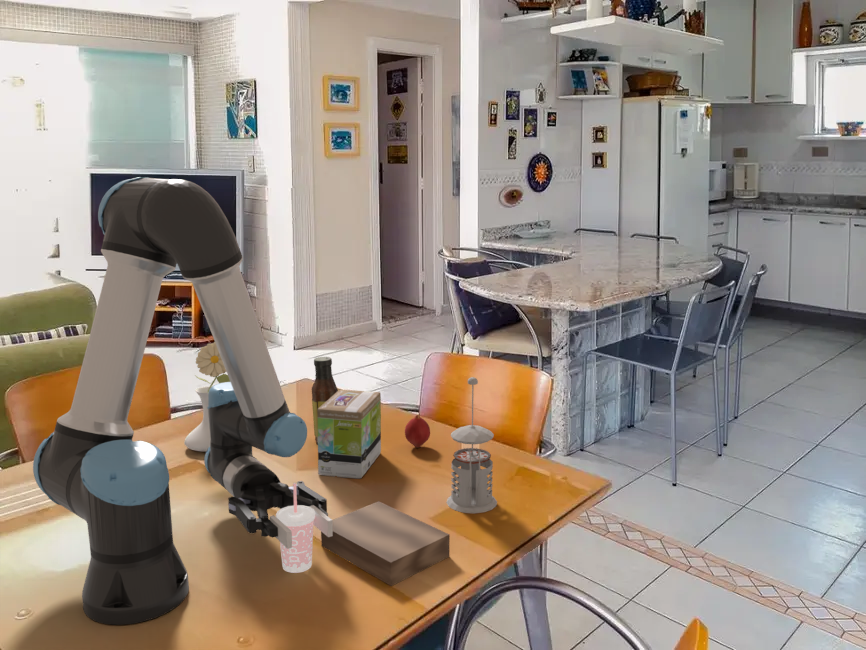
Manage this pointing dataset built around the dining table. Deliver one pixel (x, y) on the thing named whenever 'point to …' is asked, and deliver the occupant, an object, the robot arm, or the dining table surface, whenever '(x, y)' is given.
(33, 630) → the dining table surface
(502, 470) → the dining table surface
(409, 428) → the onion
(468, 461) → the french press
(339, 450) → the tea box
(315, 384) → the sauce bottle
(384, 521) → the walnut pedestal
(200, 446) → the flower in vase
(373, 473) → the dining table surface
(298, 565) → the beverage cup
